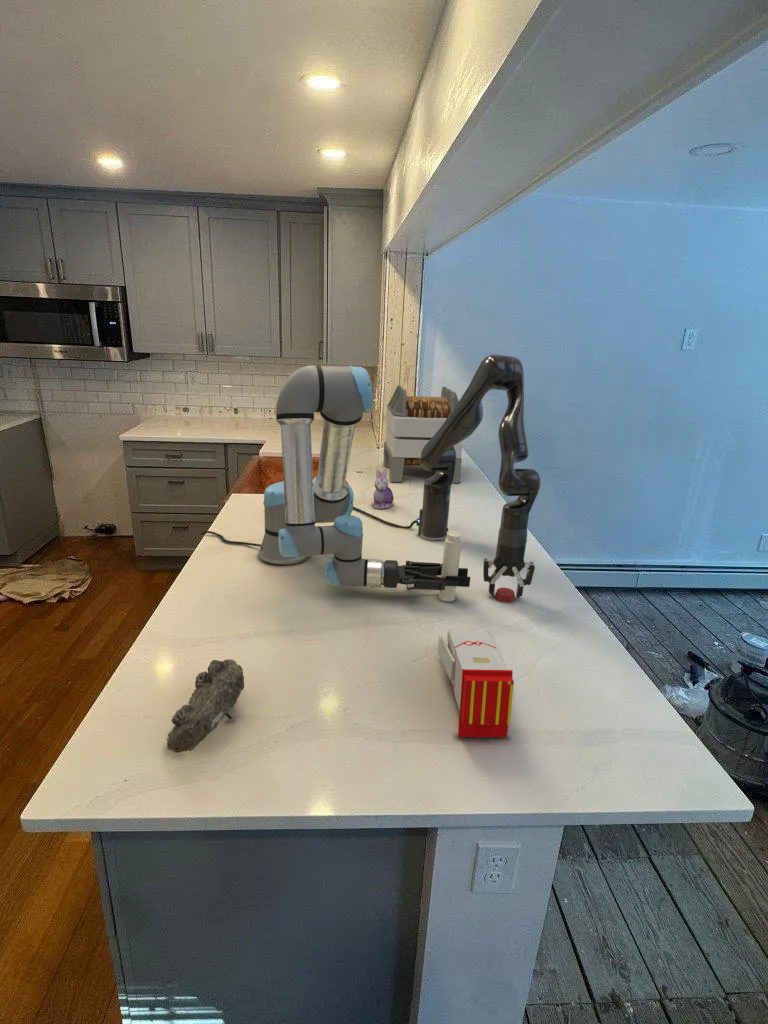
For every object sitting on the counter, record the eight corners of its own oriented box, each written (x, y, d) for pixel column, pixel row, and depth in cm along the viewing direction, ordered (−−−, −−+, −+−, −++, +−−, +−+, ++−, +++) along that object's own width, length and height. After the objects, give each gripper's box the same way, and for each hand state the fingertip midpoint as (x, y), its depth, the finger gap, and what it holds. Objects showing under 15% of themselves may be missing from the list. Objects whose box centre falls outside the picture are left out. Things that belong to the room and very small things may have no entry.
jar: (436, 599, 156) (443, 534, 149) (441, 592, 160) (448, 529, 153) (452, 603, 154) (459, 538, 148) (456, 596, 158) (464, 533, 152)
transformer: (382, 463, 289) (386, 382, 275) (445, 464, 293) (451, 384, 279) (390, 482, 257) (394, 392, 243) (460, 483, 261) (468, 394, 247)
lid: (505, 592, 162) (506, 586, 161) (517, 600, 158) (518, 593, 157) (491, 595, 159) (492, 589, 159) (503, 603, 155) (504, 597, 155)
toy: (488, 613, 130) (523, 677, 101) (484, 667, 133) (517, 744, 104) (435, 612, 130) (455, 676, 101) (432, 666, 133) (451, 743, 103)
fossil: (192, 660, 117) (244, 628, 112) (224, 691, 120) (276, 661, 115) (142, 746, 98) (202, 712, 93) (182, 779, 101) (242, 748, 96)
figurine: (377, 511, 221) (379, 474, 216) (366, 503, 229) (367, 467, 224) (399, 508, 225) (401, 471, 220) (387, 500, 233) (388, 465, 228)
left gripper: (383, 572, 164) (463, 575, 164) (382, 601, 148) (471, 605, 148) (384, 548, 162) (465, 552, 162) (383, 575, 145) (474, 579, 145)
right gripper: (537, 537, 155) (529, 591, 161) (484, 533, 157) (478, 587, 162) (541, 548, 148) (532, 604, 154) (485, 543, 150) (479, 599, 155)
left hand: (468, 577), depth 155 cm, fingers closed on jar, 4 cm apart
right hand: (504, 595), depth 158 cm, fingers open, 6 cm apart
